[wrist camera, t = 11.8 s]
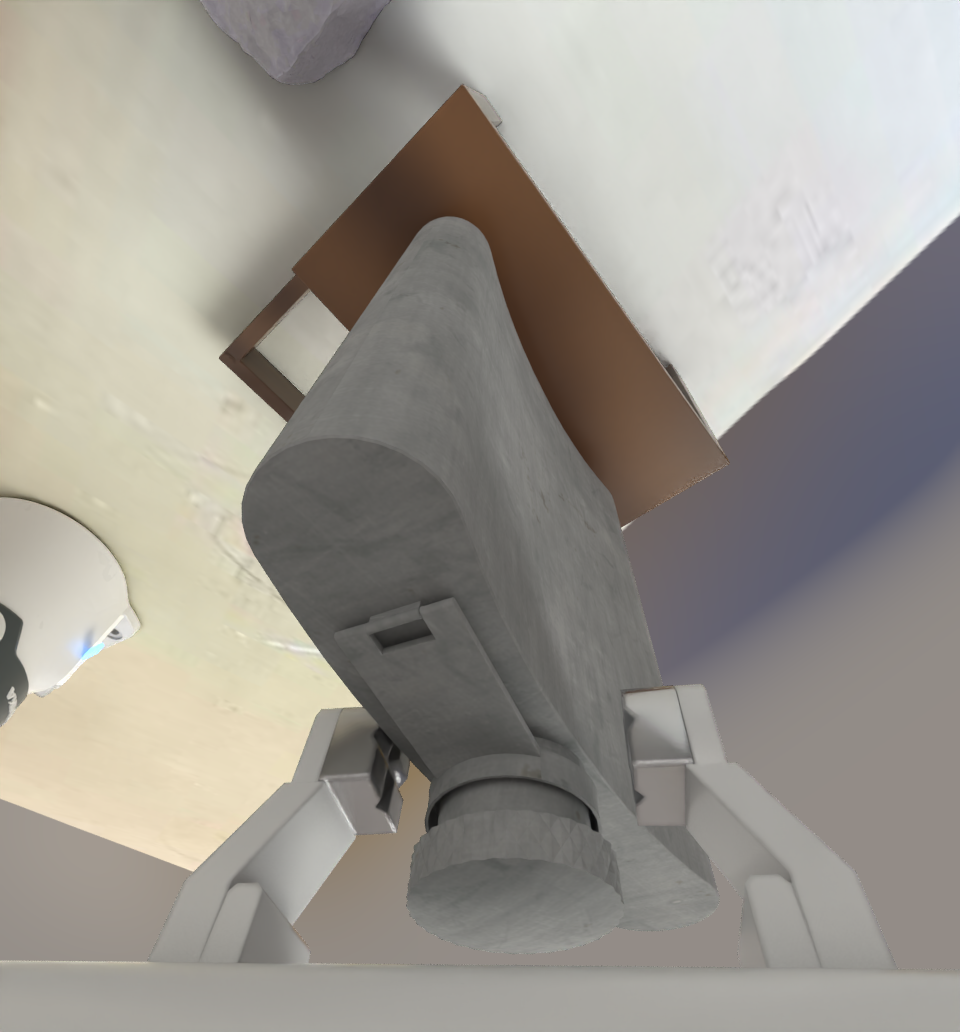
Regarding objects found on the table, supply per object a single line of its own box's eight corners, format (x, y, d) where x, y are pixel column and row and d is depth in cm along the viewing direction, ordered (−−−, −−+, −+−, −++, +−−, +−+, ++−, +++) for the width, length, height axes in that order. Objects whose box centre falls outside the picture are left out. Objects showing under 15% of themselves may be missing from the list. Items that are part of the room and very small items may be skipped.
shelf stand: (445, 547, 47) (423, 651, 38) (234, 345, 39) (141, 415, 30) (687, 386, 39) (735, 470, 29) (478, 85, 31) (453, 70, 21)
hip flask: (623, 519, 29) (771, 1049, 13) (548, 548, 30) (595, 1066, 14) (467, 198, 21) (335, 512, 5) (374, 255, 23) (28, 655, 6)
